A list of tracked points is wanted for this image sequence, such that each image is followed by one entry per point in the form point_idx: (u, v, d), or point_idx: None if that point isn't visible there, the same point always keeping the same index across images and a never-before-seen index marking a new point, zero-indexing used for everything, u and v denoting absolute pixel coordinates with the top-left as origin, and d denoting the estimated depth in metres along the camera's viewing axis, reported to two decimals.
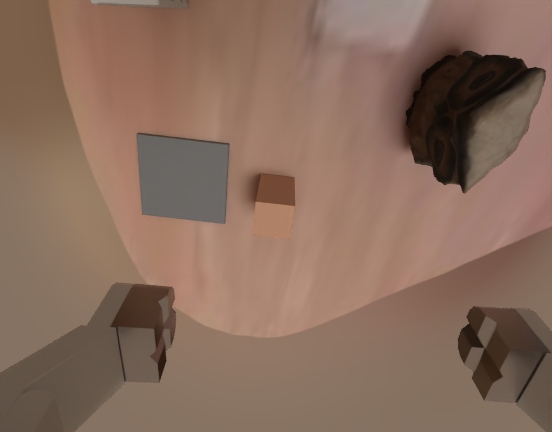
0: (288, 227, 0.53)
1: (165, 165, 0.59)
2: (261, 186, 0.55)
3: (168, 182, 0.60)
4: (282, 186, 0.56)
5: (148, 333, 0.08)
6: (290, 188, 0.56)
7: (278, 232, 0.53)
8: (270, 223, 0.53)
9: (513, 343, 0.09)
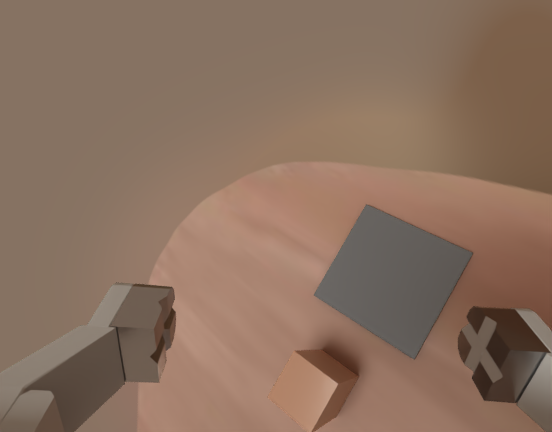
0: (284, 405, 0.37)
1: (417, 265, 0.45)
2: (347, 383, 0.40)
3: (394, 256, 0.47)
4: (335, 408, 0.41)
5: (148, 333, 0.08)
6: (329, 418, 0.41)
7: (283, 387, 0.38)
8: (299, 384, 0.37)
9: (513, 343, 0.09)
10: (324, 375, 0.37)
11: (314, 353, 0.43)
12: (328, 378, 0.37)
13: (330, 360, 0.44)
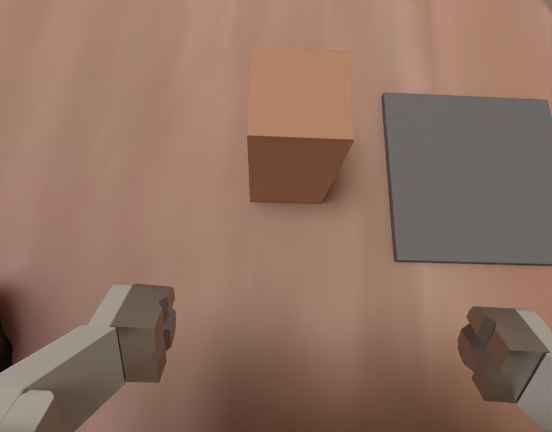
0: (258, 76, 0.20)
1: (518, 204, 0.29)
2: (327, 178, 0.24)
3: (507, 169, 0.29)
4: (277, 181, 0.24)
5: (148, 333, 0.08)
6: (259, 179, 0.24)
7: (283, 62, 0.20)
8: (307, 84, 0.20)
9: (513, 343, 0.09)
10: (350, 113, 0.19)
11: None
12: (350, 121, 0.19)
13: None
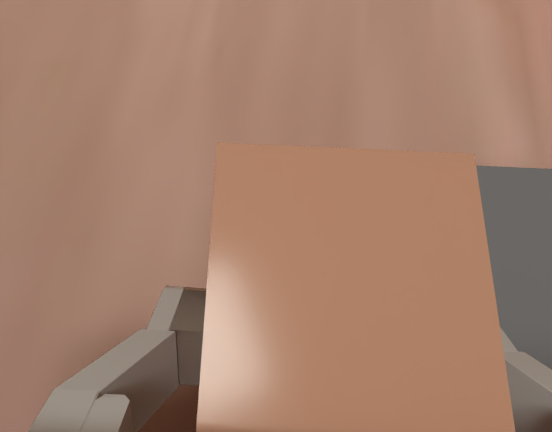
0: (234, 234, 0.07)
1: None
2: None
3: None
4: None
5: None
6: None
7: (303, 188, 0.07)
8: (370, 254, 0.07)
9: None
10: (495, 348, 0.07)
11: None
12: (499, 376, 0.07)
13: None
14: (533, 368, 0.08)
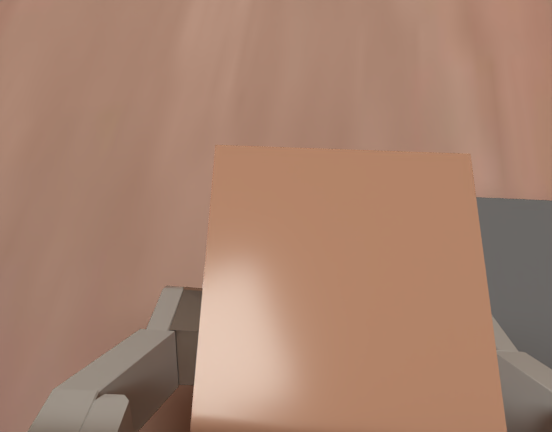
0: (230, 234, 0.07)
1: None
2: None
3: None
4: None
5: None
6: None
7: (298, 188, 0.08)
8: (364, 254, 0.07)
9: None
10: (488, 347, 0.07)
11: None
12: (491, 375, 0.07)
13: None
14: (533, 368, 0.08)
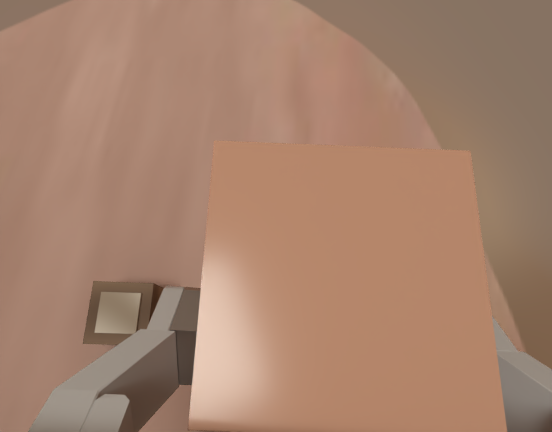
0: (229, 230, 0.07)
1: None
2: None
3: None
4: None
5: None
6: None
7: (297, 185, 0.08)
8: (364, 250, 0.07)
9: None
10: (488, 345, 0.07)
11: None
12: (491, 372, 0.07)
13: None
14: (533, 368, 0.08)
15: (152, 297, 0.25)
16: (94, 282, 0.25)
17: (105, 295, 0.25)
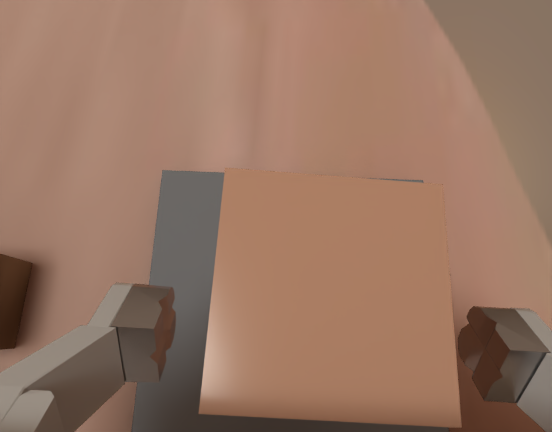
0: (236, 246, 0.09)
1: None
2: None
3: None
4: None
5: (148, 333, 0.08)
6: None
7: (295, 209, 0.09)
8: (350, 267, 0.09)
9: (513, 343, 0.09)
10: (449, 349, 0.08)
11: None
12: (451, 372, 0.08)
13: None
14: None
15: None
16: None
17: None
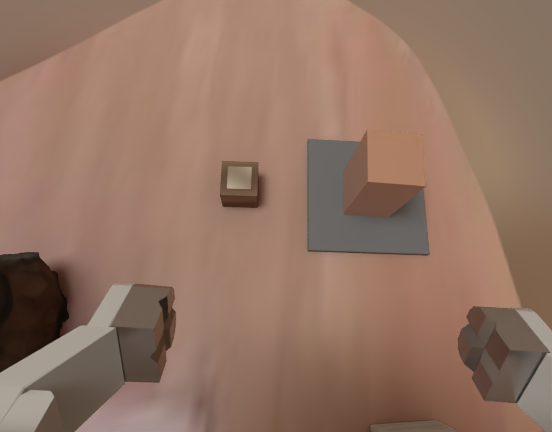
0: (372, 148, 0.35)
1: None
2: (400, 203, 0.39)
3: None
4: (369, 203, 0.40)
5: (148, 333, 0.08)
6: (358, 202, 0.40)
7: (385, 139, 0.36)
8: (399, 153, 0.35)
9: (513, 343, 0.09)
10: (423, 171, 0.35)
11: None
12: (423, 175, 0.35)
13: None
14: None
15: None
16: (222, 161, 0.41)
17: (230, 168, 0.41)
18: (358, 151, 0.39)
